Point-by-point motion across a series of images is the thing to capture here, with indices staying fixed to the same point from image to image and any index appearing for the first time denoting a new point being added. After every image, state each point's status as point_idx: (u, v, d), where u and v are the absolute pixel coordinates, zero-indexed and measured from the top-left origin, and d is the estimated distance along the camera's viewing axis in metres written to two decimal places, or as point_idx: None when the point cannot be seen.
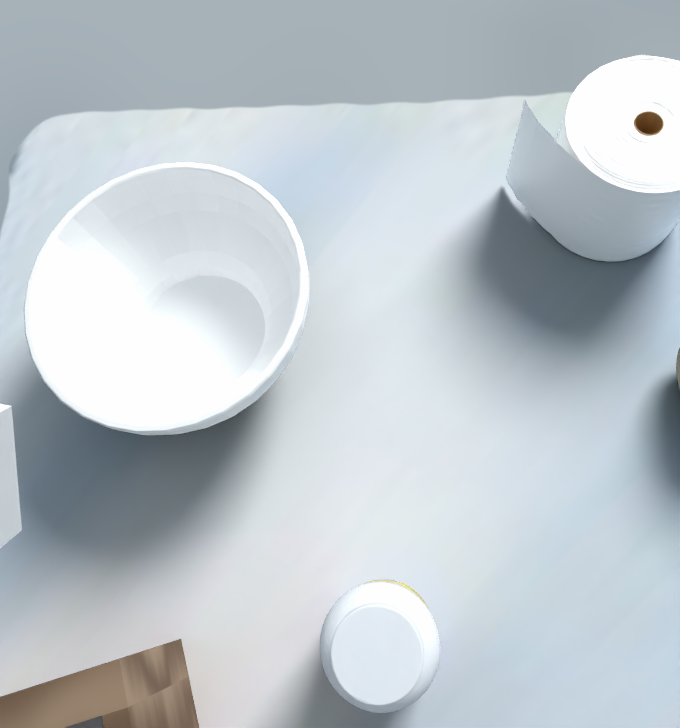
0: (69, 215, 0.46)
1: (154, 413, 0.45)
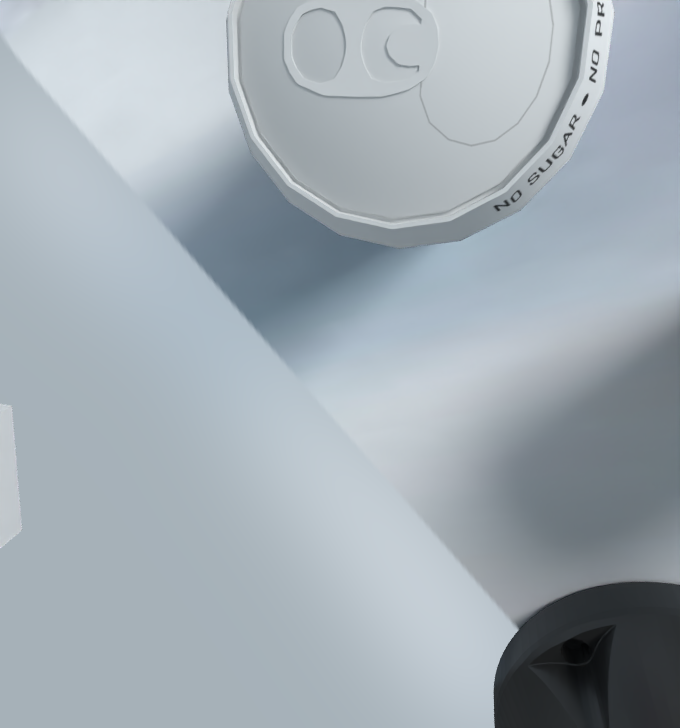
0: None
1: None
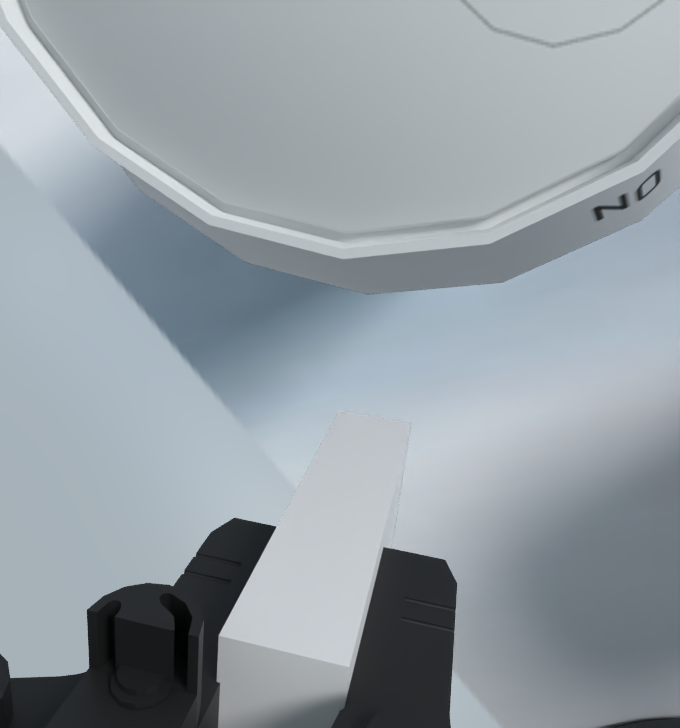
0: None
1: None
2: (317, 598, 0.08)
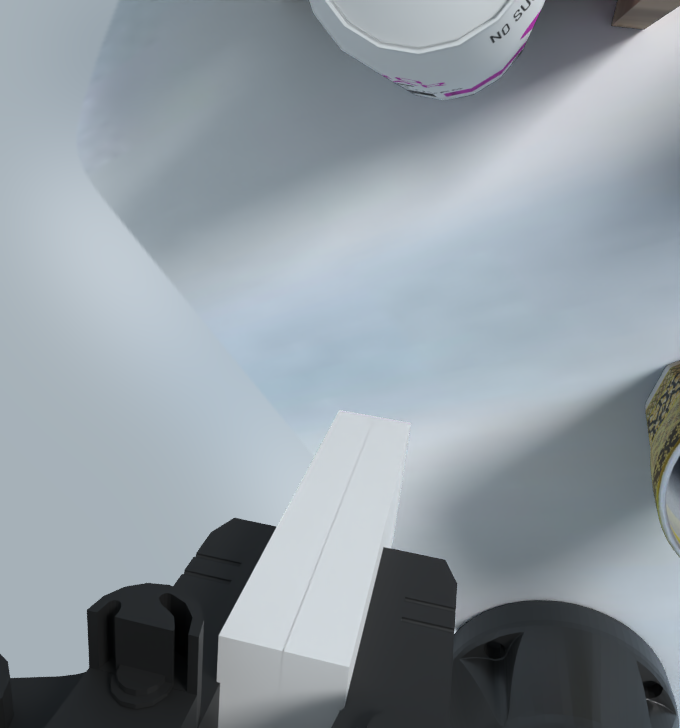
0: None
1: None
2: (317, 598, 0.08)
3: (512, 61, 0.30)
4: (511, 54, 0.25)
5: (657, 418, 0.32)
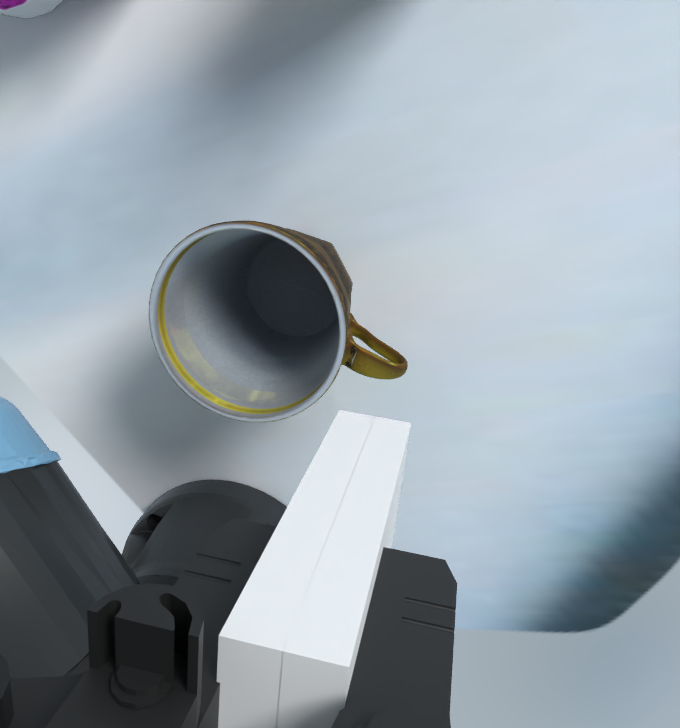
0: None
1: None
2: (317, 598, 0.08)
3: None
4: None
5: None
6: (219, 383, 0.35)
